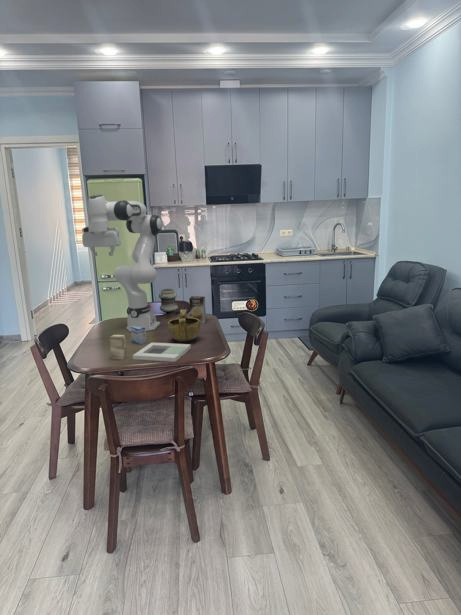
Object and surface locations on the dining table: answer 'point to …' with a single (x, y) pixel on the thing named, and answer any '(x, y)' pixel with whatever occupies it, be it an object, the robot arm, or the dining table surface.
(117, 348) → the birch block
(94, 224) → the robot arm
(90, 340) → the dining table surface
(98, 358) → the dining table surface
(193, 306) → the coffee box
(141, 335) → the medicine box
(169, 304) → the apothecary jar
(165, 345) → the hole board
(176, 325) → the ceramic bowl
